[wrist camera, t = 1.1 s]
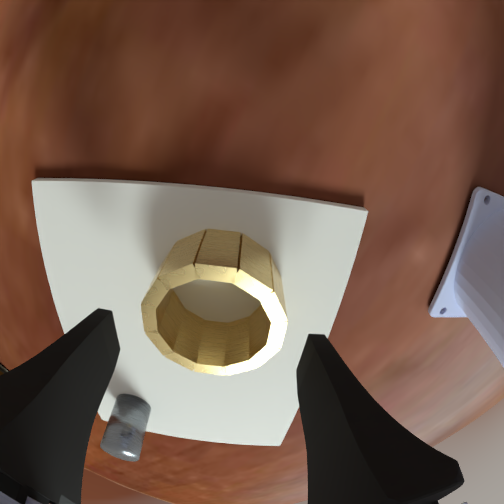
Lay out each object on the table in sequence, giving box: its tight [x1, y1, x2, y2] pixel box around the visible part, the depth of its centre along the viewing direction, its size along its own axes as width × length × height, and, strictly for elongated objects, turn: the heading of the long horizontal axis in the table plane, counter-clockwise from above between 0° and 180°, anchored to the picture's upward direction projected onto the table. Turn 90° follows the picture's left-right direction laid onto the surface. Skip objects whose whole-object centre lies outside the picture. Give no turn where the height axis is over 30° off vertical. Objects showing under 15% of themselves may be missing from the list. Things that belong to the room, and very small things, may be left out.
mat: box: [32, 178, 368, 446], centre depth 17 cm, size 16×21×1 cm
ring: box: [141, 229, 288, 375], centre depth 12 cm, size 6×6×3 cm
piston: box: [100, 394, 151, 461], centre depth 17 cm, size 3×3×4 cm
